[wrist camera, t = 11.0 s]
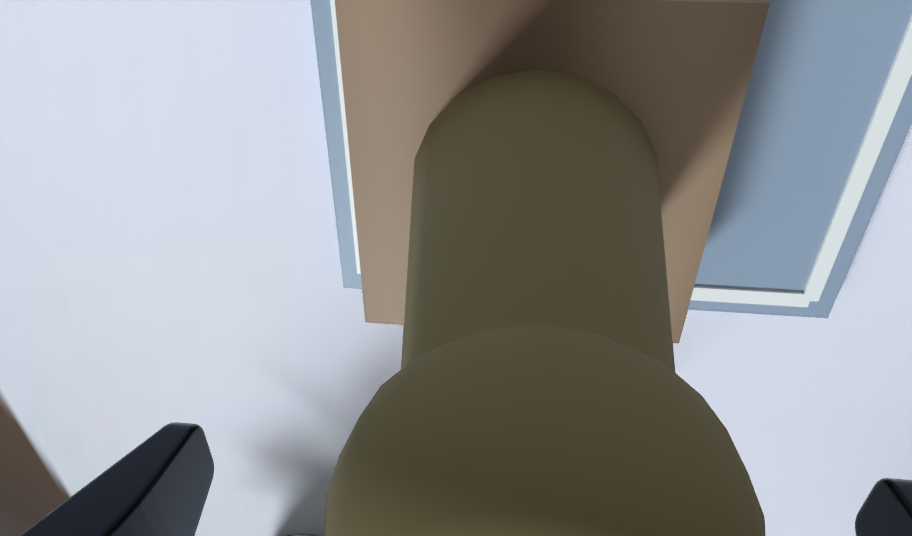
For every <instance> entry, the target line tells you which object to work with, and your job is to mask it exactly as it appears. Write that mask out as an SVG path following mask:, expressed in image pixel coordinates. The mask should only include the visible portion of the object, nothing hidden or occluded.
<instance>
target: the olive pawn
mask: <svg viewBox="0 0 912 536" xmlns="http://www.w3.org/2000/svg"><path fill="white" fill-rule="evenodd" d="M325 536H765V521H764V515H763V512H762V509H761V507H760V504H759V501H758V499H757V496H756V493H755V491H754V488H753V485H752V483H751V480H750V477H749V475H748V472H747V470H746V468H745V466H744V464H743V462H742V460H741V458H740V456H739V454H738V452H737V450H736V448H735V446H734V443H733V441H732V439H731V437H730V435H729V433H728V431H727V429H726V428H725V426H724V425H723V424H722V422H721V421H720V420H719V418H718V417H717V416H716V414H715V413H714V412H713V410H712V409H711V408H710V406H709V405H708V404H707V402H706V401H705V399H704V398H703V397H702V396H701V395H700V394H699V393H698V392H697V391H696V390H695V389H693V388H692V387H691V386H690V385H689V384H688V383H686V382H685V381H684V380H683V379H682V378H681V377H679V376H678V375H677V374H676V373H675V365H674V354H673V342H672V330H671V319H670V307H669V296H668V284H667V272H666V261H665V249H664V238H663V226H662V214H661V203H660V191H659V180H658V168H657V156H656V154H655V151H654V149H653V147H652V144H651V142H650V140H649V137H648V135H647V133H646V131H645V128H644V126H643V124H642V121H641V120H640V119H639V118H638V117H637V116H636V115H635V114H634V113H633V112H632V111H631V110H630V109H629V108H628V107H627V106H626V105H625V104H624V103H623V102H622V101H621V100H620V99H619V98H618V97H617V96H616V95H615V94H614V93H613V92H611V91H609V90H607V89H605V88H603V87H601V86H599V85H596V84H594V83H592V82H590V81H588V80H586V79H584V78H582V77H580V76H578V75H574V74H567V73H559V72H552V71H544V70H536V69H533V70H527V71H522V72H516V73H511V74H506V75H500V76H495V77H491V78H489V79H487V80H486V81H484V82H482V83H480V84H478V85H476V86H475V87H473V88H471V89H469V90H467V91H465V92H464V93H462V94H460V95H458V96H456V97H455V98H454V99H453V100H452V101H451V102H450V103H449V104H448V106H447V107H446V108H445V109H444V110H443V111H442V112H441V113H440V114H439V115H438V116H437V117H436V118H435V120H434V121H433V122H432V123H431V124H430V125H429V127H428V129H427V131H426V134H425V136H424V138H423V140H422V143H421V145H420V147H419V150H418V152H417V154H416V156H415V160H414V174H413V188H412V204H411V220H410V236H409V251H408V267H407V283H406V299H405V315H404V331H403V347H402V363H401V370H400V371H399V372H398V373H396V374H395V375H394V376H393V377H391V378H390V379H389V380H388V381H387V382H385V383H384V384H383V385H382V386H381V387H380V388H379V390H378V391H377V393H376V394H375V395H374V397H373V398H372V400H371V401H370V403H369V404H368V406H367V407H366V408H365V410H364V411H363V413H362V414H361V416H360V418H359V419H358V421H357V423H356V425H355V427H354V429H353V431H352V433H351V435H350V437H349V439H348V440H347V442H346V444H345V446H344V448H343V450H342V452H341V454H340V456H339V459H338V462H337V465H336V468H335V471H334V474H333V477H332V480H331V483H330V486H329V489H328V492H327V496H326V522H325Z"/></svg>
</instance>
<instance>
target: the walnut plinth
mask: <svg viewBox="0 0 912 536" xmlns="http://www.w3.org/2000/svg"><path fill="white" fill-rule="evenodd" d="M769 6H770V3H769V2H767V1H766V0H335V9H336V20H337V30H338V41H339V51H340V62H341V72H342V82H343V93H344V103H345V114H346V124H347V135H348V145H349V156H350V166H351V177H352V187H353V197H354V208H355V218H356V229H357V239H358V250H359V260H360V271H361V281H362V292H363V302H364V312H365V322H369V323H384V324H399V325H404V315H405V299H406V283H407V267H408V251H409V236H410V220H411V204H412V188H413V174H414V160H415V156H416V154H417V152H418V150H419V147H420V145H421V143H422V140H423V138H424V136H425V134H426V131H427V129H428V127H429V125H430V124H431V123H432V122H433V121H434V120H435V118H436V117H437V116H438V115H439V114H440V113H441V112H442V111H443V110H444V109H445V108H446V107H447V106H448V104H449V103H450V102H451V101H452V100H453V99H454V98H455V97H456V96H458V95H460V94H462V93H464V92H465V91H467V90H469V89H471V88H473V87H475V86H476V85H478V84H480V83H482V82H484V81H486V80H487V79H489V78H491V77H495V76H500V75H506V74H511V73H516V72H522V71H527V70H533V69H536V70H544V71H552V72H559V73H567V74H574V75H578V76H580V77H582V78H584V79H586V80H588V81H590V82H592V83H594V84H596V85H599V86H601V87H603V88H605V89H607V90H609V91H611V92H613V93H614V94H615V95H616V96H617V97H618V98H619V99H620V100H621V101H622V102H623V103H624V104H625V105H626V106H627V107H628V108H629V109H630V110H631V111H632V112H633V113H634V114H635V115H636V116H637V117H638V118H639V119H640V120H641V121H642V124H643V126H644V128H645V131H646V133H647V135H648V137H649V140H650V142H651V144H652V147H653V149H654V151H655V154H656V156H657V168H658V180H659V191H660V203H661V214H662V226H663V238H664V249H665V261H666V272H667V284H668V296H669V307H670V319H671V330H672V342H673V343H679V341H680V337H681V333H682V330H683V326H684V322H685V318H686V315H687V311H688V307H689V304H690V300H691V296H692V292H693V289H694V285H695V281H696V278H697V274H698V270H699V266H700V263H701V259H702V255H703V251H704V248H705V244H706V240H707V237H708V233H709V229H710V225H711V222H712V218H713V214H714V210H715V207H716V203H717V199H718V196H719V192H720V188H721V184H722V181H723V177H724V173H725V170H726V166H727V162H728V158H729V155H730V151H731V147H732V143H733V140H734V136H735V132H736V129H737V125H738V121H739V117H740V114H741V110H742V106H743V103H744V99H745V95H746V91H747V88H748V84H749V80H750V76H751V73H752V69H753V65H754V62H755V58H756V54H757V50H758V47H759V43H760V39H761V35H762V32H763V28H764V24H765V21H766V17H767V13H768V9H769Z"/></svg>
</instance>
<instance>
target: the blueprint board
mask: <svg viewBox="0 0 912 536" xmlns="http://www.w3.org/2000/svg"><path fill="white" fill-rule="evenodd" d="M766 1H767V2H769V3H770V6H769V9H768V13H767V17H766V21H765V24H764V28H763V32H762V35H761V39H760V43H759V47H758V50H757V54H756V58H755V62H754V65H753V69H752V73H751V76H750V80H749V84H748V88H747V91H746V95H745V99H744V103H743V106H742V110H741V114H740V117H739V121H738V125H737V129H736V132H735V136H734V140H733V143H732V147H731V151H730V155H729V158H728V162H727V166H726V170H725V173H724V177H723V181H722V184H721V188H720V192H719V196H718V199H717V203H716V207H715V210H714V214H713V218H712V222H711V225H710V229H709V233H708V237H707V240H706V244H705V248H704V251H703V255H702V259H701V263H700V266H699V270H698V274H697V278H696V281H695V285H694V289H693V292H692V296H691V300H690V304H689V307H688V309H690V310H706V311H721V312H737V313H753V314H769V315H785V316H801V317H817V318H828V316H829V314H830V311H831V309H832V307H833V304H834V302H835V300H836V297H837V295H838V293H839V290H840V288H841V286H842V283H843V281H844V279H845V276H846V274H847V272H848V269H849V267H850V265H851V262H852V260H853V258H854V255H855V253H856V251H857V249H858V246H859V244H860V242H861V239H862V237H863V235H864V232H865V230H866V228H867V225H868V223H869V221H870V218H871V216H872V214H873V211H874V209H875V207H876V204H877V202H878V200H879V197H880V195H881V193H882V190H883V188H884V186H885V183H886V181H887V179H888V176H889V174H890V172H891V169H892V167H893V165H894V162H895V160H896V158H897V155H898V153H899V151H900V148H901V146H902V144H903V141H904V139H905V137H906V135H907V132H908V130H909V128H910V125H911V123H912V0H766ZM311 9H312V18H313V26H314V35H315V43H316V52H317V61H318V69H319V78H320V87H321V95H322V104H323V113H324V121H325V130H326V138H327V147H328V156H329V164H330V173H331V182H332V190H333V199H334V208H335V216H336V225H337V233H338V242H339V251H340V259H341V268H342V277H343V285H344V288H357V289H362V281H361V271H360V260H359V250H358V239H357V229H356V218H355V208H354V197H353V187H352V177H351V166H350V156H349V145H348V135H347V124H346V114H345V103H344V93H343V82H342V72H341V62H340V51H339V41H338V30H337V20H336V9H335V0H311Z"/></svg>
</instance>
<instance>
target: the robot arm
mask: <svg viewBox="0 0 912 536" xmlns="http://www.w3.org/2000/svg"><path fill="white" fill-rule="evenodd" d="M213 474H214V463H213V459H212V456H211V452H210V449H209V446H208V443H207V440H206V437H205V434H204V431H203V429H202V428H201V427H200V426H199V425H197V424H189V423H170V424H168V425H166V426H164V427H163V428H162V429H160V430H159V431H158V432H156V433H155V434H154V435H152V436H151V437H150V438H148V439H147V440H146V441H144V442H143V443H142V444H140V445H139V446H138V447H136V448H135V449H134V450H132V451H131V452H130V453H128V454H127V455H126V456H125V457H123V458H122V459H121V460H119V461H118V462H117V463H115V464H114V465H113V466H111V467H110V468H109V469H107V470H106V471H105V472H103V473H102V474H101V475H99V476H98V477H97V478H95V479H94V480H93V481H91V482H90V483H89V484H87V485H86V486H85V487H84V488H82V489H81V490H80V491H78V492H77V493H76V494H74V495H73V496H72V497H70V498H69V499H68V500H66V501H65V502H64V503H62V504H61V505H60V506H58V507H57V508H56V509H54V510H53V511H52V512H50V513H49V514H48V515H46V516H45V517H44V518H43V519H41V520H40V521H39V522H37V523H36V524H35V525H33V526H32V527H31V528H29V529H28V530H27V531H25V532H24V533H23V534H21V535H20V536H194V535H195V532H196V529H197V526H198V523H199V520H200V517H201V513H202V510H203V507H204V504H205V501H206V498H207V495H208V492H209V488H210V485H211V482H212V479H213ZM855 531H856V536H912V480H902V479H890V478H884V479H881V480H879V481H878V482H877V483H876V484H875V485H874V487H873V489H872V490H871V492H870V494H869V495H868V497H867V499H866V500H865V502H864V504H863V505H862V507H861V509H860V510H859V512H858V514H857V517H856V521H855Z"/></svg>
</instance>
